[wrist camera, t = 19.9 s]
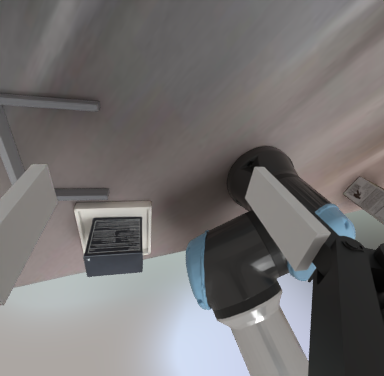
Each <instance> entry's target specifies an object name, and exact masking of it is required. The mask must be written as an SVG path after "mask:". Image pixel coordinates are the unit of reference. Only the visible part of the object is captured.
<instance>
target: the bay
mask: <svg viewBox="0 0 384 376" xmlns="http://www.w3.org/2000/svg"><path fill="white" fill-rule="evenodd" d="M2 105H11V106H25V107H39V108H54V109H68V110H82V111H97V112H98V110H99V109H100V102H99V101H89V100H76V99H64V98H51V97H39V96H26V95H14V94H1V93H0V156H1V158H2V161H3V164H4V166H5V169H6V171H7V174H8V176H9V179H10V181H11V184H12V185H13V184H14V183H15V182H16V181H17V180H18V179H19V178H20V177H21V176H22V175H23V173H24V172H25V171H24V168H23V165H22V162H21V159H20V156H19V153H18V150H17V147H16V144H15V141H14V139H13V136H12V133H11V130H10V127H9V124H8V121H7V118H6V115H5V112H4V109H3V107H2ZM54 190H55V193H56V197H57V200H58V201H61V200H108V196H109V189H54Z"/></svg>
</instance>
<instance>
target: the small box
mask: <svg viewBox="0 0 384 376" xmlns="http://www.w3.org/2000/svg"><path fill="white" fill-rule="evenodd" d="M83 259H84V263H85V268H86V273H87V276H88V277H92V276H103V275H114V274H126V273H137V272H142V269H143V245H142V217H113V218H93V219H92V226H91V229H90V233H89V237H88V241H87V245H86V249H85V253H84V256H83Z"/></svg>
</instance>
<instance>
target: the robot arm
mask: <svg viewBox="0 0 384 376" xmlns="http://www.w3.org/2000/svg"><path fill="white" fill-rule="evenodd" d="M227 187H228V191H229V193H230V195H231V196H232V198H233V199H234V201H235V202H236V203H237V204H239V205H240V206H242V207H243V208H245V209H246V210H248V211H249V212H247V213H245V214H242V215H240V216H238V217H236V218H234V219H232V220H230V221H228V222H226V223H224V224H222V225H220V226H218V227H216V228H214V229H212V230H210V231H209V230H207V231H205V233H203V234H202V235H200V236H198V237H196V238H194V239H193V240H191V241H190V242H189V244H188V246H187V249H186V267H187V273H188V277H189V281H190V285H191V288H192V291H193V294H194V296H195V298H196V299H197V302H198V304H199V306H200V307H201V308H203V309H207V310H210V309H211V308H212V309H213V311H214V314H215V316H216V318H217V320H218V321H219V322H221V323H223V324H225V325H227V326H229V327H230V328H231V330H232V333H233V335H234V337H235V340H236V342H237V345H238V347H239V349H240V352H241V354H242V357H243V359H244V361H245V363H246V366H247V368H248V371H249V373H250V375H251V376H384V244H381V245H380V246H379V247H378V248H377V249H376V250H373V249H368V248H364V246H363V245H361V244H360V243H359V242H358V241H356V240H355V228H354V225H353V224H352V222H351V221H350V220H349V219H348V218H347V217H346V216H345V215H344V214H343V213H342V212H341V211H340V210H339V208H338V207H337V206H336V205H335V204H332V203H331V202H329V201H328V200H327V199H326V198H325V197H323V196H322V195H321V194H320V193H318V192H317V191H316V190H315V189H313V188H312V187H311V186H310V185H309V184H307V183H306V182H305V181H304V180H302V179H301V178H300V177H299V176H298V174H297V173H296V171H295V169H294V166H293V163H292V161H291V160H290V158H289V157H288V156H287V155H286V154H285V153H283V152H282V151H281V150H279V149H277V148H274V147H259V148H256V149H253V150H251V151H249V152H247V153H245V154H244V155H243V156H241V157H240V158H239V159H238V160H237V161H236V162H235V164H234V165H233V166H232V168H231V170H230V172H229V175H228V179H227ZM57 204H58V200H57V197H56V193H55V190H54V186H53V182H52V179H51V175H50V172H49V168H48V165H47V164H32V165H31V166H30V167H29V168H28V169H27V170H26V171H25V172H24V173H23V175H22V176H21V177H20V178H19V179H18V180H17V181H16V182H15V183H14V184H13V185H12V187H11V188H10V189H9V190H8V191H7V192H6V193H5V194H4V195H3V196H2V197H1V199H0V306H2V305H4V304H5V302H6V300H7V298H8V296H9V295H10V293H11V291H12V289H13V287H14V285H15V283H16V281H17V280H18V278H19V276H20V274H21V272H22V270H23V268H24V266H25V264H26V263H27V261H28V259H29V257H30V255H31V253H32V251H33V249H34V247H35V245H36V244H37V242H38V240H39V238H40V236H41V234H42V232H43V230H44V228H45V227H46V225H47V223H48V221H49V219H50V217H51V215H52V213H53V211H54V209H55V208H56V206H57ZM287 273H290V274H291V275H292V276H293V277H295V278H296V279H298V280H301V281H306V280H308V282H311V280H313V293H312V311H311V330H310V348H309V361H308V360H307V358H306V356H305V354H304V352H303V350H302V348H301V346H300V344H299V342H298V341H297V338H296V337H295V335H294V333H293V331H292V329H291V327H290V325H289V323H288V321H287V319H286V318H285V315H284V313H283V311H282V309H281V308H280V306H279V302H280V298H281V294H282V289H281V287H280V285H279V283H278V281H277V278H278V277H280V276H282V275H285V274H287Z"/></svg>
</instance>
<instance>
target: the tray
mask: <svg viewBox="0 0 384 376" xmlns="http://www.w3.org/2000/svg"><path fill="white" fill-rule="evenodd" d="M151 208H152V207H151V201H124V202H77V203H76V205H75V207H74V212H75V217H76V221H77V225H78V230H79V234H80V239H81V243H82V247H83V252H84V253H85V249H86V245H87V241H88V237H89V233H90V229H91V226H92V219H93V218H113V217H142V245H143V255H149V254H151Z"/></svg>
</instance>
